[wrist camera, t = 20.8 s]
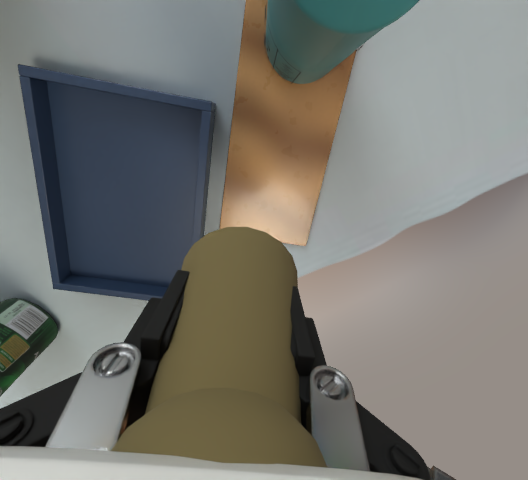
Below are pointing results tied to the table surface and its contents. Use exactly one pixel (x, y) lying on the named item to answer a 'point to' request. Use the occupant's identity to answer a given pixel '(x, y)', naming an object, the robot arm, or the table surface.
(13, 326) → the coffee jar
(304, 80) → the beverage bottle
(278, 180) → the orange brown rectangular board
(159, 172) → the tray
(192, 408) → the pepper shaker
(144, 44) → the table surface
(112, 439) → the robot arm
